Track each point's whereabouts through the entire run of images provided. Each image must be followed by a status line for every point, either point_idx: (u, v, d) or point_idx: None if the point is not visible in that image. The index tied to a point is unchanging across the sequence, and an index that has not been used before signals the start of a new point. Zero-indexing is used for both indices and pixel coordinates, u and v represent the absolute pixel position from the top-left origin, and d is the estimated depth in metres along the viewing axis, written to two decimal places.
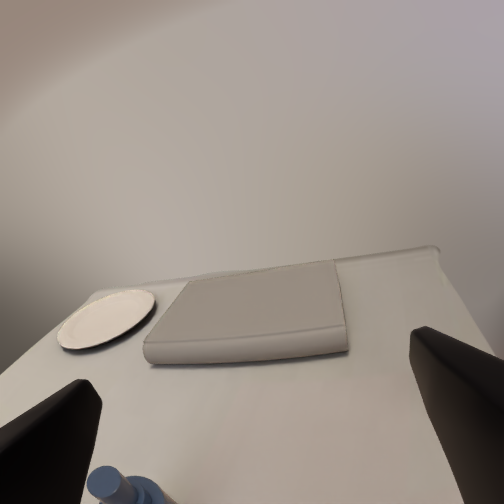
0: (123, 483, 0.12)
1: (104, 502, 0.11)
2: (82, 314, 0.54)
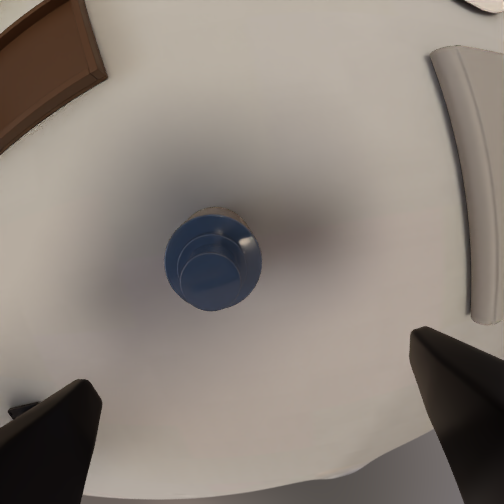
0: None
1: None
2: None
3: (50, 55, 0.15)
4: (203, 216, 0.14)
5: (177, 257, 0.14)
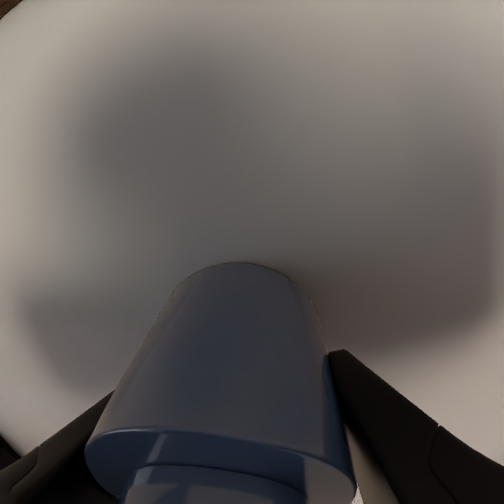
0: None
1: None
2: None
3: None
4: (195, 436, 0.03)
5: (117, 475, 0.04)
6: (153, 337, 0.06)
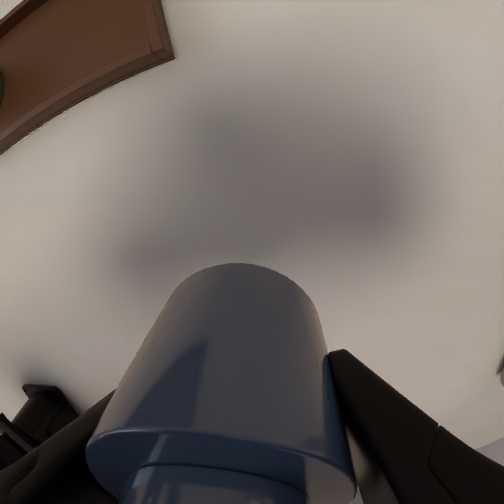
0: None
1: None
2: None
3: (101, 18, 0.12)
4: (196, 436, 0.03)
5: (118, 475, 0.04)
6: (154, 337, 0.06)
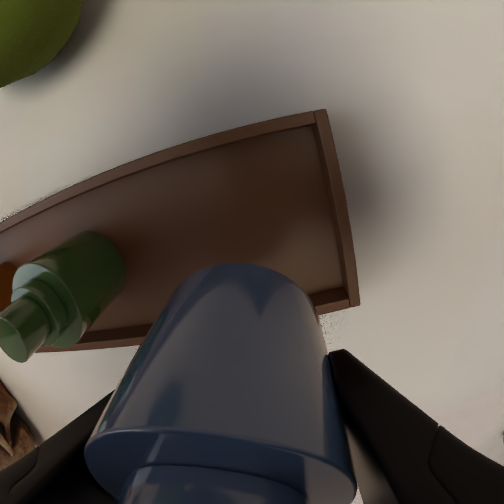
0: None
1: None
2: None
3: (274, 228, 0.16)
4: (195, 436, 0.03)
5: (117, 475, 0.04)
6: (153, 337, 0.06)
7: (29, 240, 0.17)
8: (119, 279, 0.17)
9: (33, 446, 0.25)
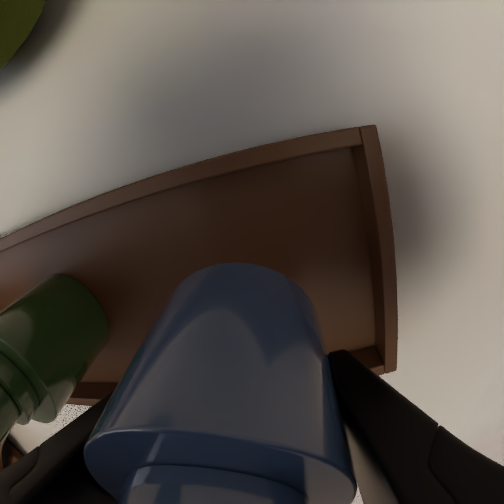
0: None
1: None
2: None
3: (296, 280, 0.12)
4: (194, 436, 0.03)
5: (116, 475, 0.04)
6: (152, 337, 0.06)
7: None
8: (100, 337, 0.13)
9: None
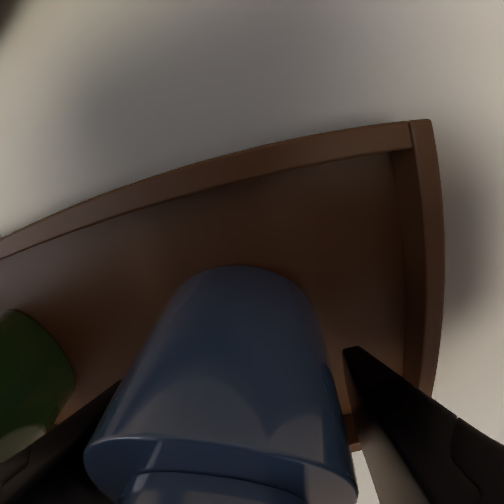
0: None
1: None
2: None
3: None
4: (194, 444, 0.03)
5: (116, 481, 0.04)
6: (152, 341, 0.05)
7: None
8: (64, 388, 0.09)
9: None
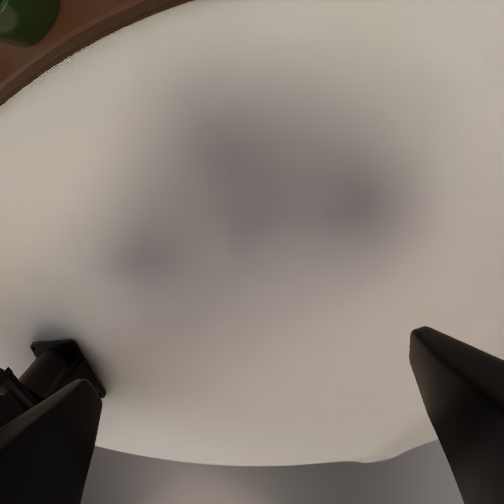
0: None
1: None
2: None
3: None
4: None
5: None
6: None
7: None
8: (51, 9, 0.12)
9: None
